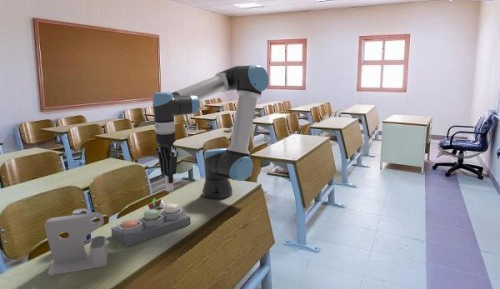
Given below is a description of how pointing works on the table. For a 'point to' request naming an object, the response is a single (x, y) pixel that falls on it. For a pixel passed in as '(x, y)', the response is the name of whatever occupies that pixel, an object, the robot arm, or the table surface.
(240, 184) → the table surface
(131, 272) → the table surface
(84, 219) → the phone holder
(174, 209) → the cream button
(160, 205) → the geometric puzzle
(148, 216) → the sage button
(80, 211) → the energy drink
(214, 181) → the robot arm
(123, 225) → the terracotta button
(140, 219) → the button board
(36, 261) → the table surface
